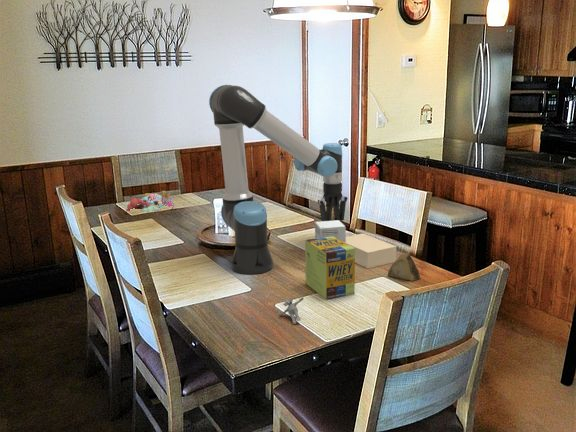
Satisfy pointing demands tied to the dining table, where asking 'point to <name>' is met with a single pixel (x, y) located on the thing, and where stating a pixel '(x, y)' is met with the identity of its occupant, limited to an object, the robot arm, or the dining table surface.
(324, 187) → the robot arm
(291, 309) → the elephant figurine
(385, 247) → the sleeve
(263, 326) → the dining table surface
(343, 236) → the supplement box
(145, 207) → the candy landscape model
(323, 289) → the protein box
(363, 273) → the dining table surface
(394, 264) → the rock
